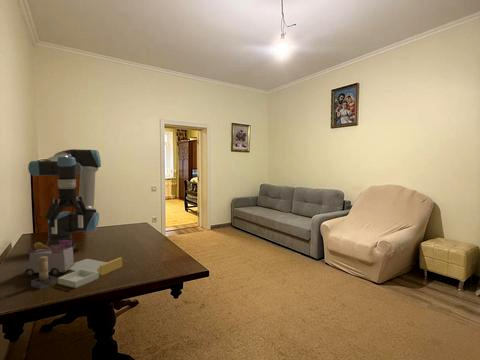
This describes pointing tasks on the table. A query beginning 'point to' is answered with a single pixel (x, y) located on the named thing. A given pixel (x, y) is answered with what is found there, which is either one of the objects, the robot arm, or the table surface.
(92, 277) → the tray
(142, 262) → the table surface
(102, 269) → the block
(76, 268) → the mat
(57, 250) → the toy vehicle
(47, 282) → the socket
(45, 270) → the pin
